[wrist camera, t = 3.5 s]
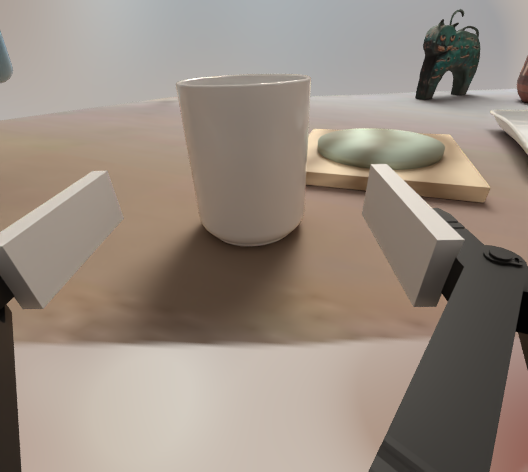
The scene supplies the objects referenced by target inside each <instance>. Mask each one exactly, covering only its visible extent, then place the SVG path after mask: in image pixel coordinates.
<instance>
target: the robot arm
mask: <svg viewBox="0 0 528 472" xmlns="http://www.w3.org/2000/svg"><path fill="white" fill-rule="evenodd" d="M12 71H13V69H12V64H11V61H10V58H9V55H8V52H7V49H6V46H5V43H4V40H3V37H2V34H1V31H0V83H3V82H6V81H7V80H8V79H10V77H11V75H12ZM362 215H363V217H364V219H365V220H366V222H367V224H368V226H369V228H370V229H371V231H372V233H373V235H374V237H375V238H376V240H377V242H378V244H379V246H380V247H381V249H382V251H383V253H384V255H385V256H386V258H387V260H388V262H389V264H390V265H391V267H392V269H393V271H394V273H395V274H396V276H397V278H398V280H399V282H400V283H401V285H402V287H403V289H404V291H405V292H406V294H407V296H408V298H409V300H410V301H411V303H412V305H413V307H436V306H437V304H438V301H439V299H440V297H441V294H443V295H444V297H445V298H446V300H447V301H448V303H447V305H446V307H445V309H444V311H443V314H442V316H441V318H440V320H439V322H438V324H437V326H436V329H435V331H434V333H433V335H432V337H431V339H430V341H429V344H428V346H427V348H426V350H425V352H424V355H423V357H422V359H421V361H420V363H419V365H418V367H417V369H416V372H415V374H414V376H413V378H412V380H411V382H410V385H409V387H408V389H407V391H406V393H405V395H404V397H403V400H402V402H401V404H400V406H399V408H398V410H397V412H396V415H395V417H394V419H393V421H392V423H391V425H390V428H389V430H388V432H387V434H386V436H385V438H384V440H383V442H382V445H381V446H380V448H379V450H378V452H377V455H376V457H375V459H374V461H373V463H372V465H371V467H370V469H369V472H489V471H490V466H491V461H492V455H493V449H494V443H495V439H496V434H497V428H498V423H499V417H500V412H501V407H502V401H503V395H504V390H505V385H506V379H507V374H508V369H509V364H510V358H511V353H512V347H513V342H514V337H515V332H518V334H519V338H520V342H521V346H522V350H523V354H524V358H525V361H526V365H527V369H528V266H527V264H526V262H525V261H524V260H523V259H522V258H521V257H520V256H519V255H517V254H515V253H513V252H512V251H509V250H506V249H504V248H501V247H496V246H490V245H484V244H483V243H481V242H480V241H479V240H478V239H477V238H476V237H475V236H474V235H473V234H472V233H470V232H469V231H468V230H467V229H465V227H464V226H463V225H462V224H461V223H458V221H457V220H456V219H455V218H454V217H453V216H452V215H451V214H449V213H447V212H445V211H443V210H441V209H439V208H431V207H430V206H429V205H428V204H427V203H426V202H425V201H424V200H423V199H422V198H421V197H420V196H419V195H418V194H417V193H416V192H415V191H414V190H413V189H412V188H411V187H410V186H409V185H408V184H407V183H406V182H405V181H404V180H403V179H402V178H401V177H400V176H399V175H398V174H397V173H395V172H394V171H393V170H392V169H391V168H390V167H389V166H388V165H387V164H371V166H370V171H369V177H368V183H367V188H366V194H365V200H364V205H363V211H362ZM123 219H124V217H123V215H122V212H121V209H120V206H119V203H118V200H117V197H116V194H115V191H114V189H113V186H112V183H111V180H110V177H109V174H108V171H92V172H90V173H89V174H87V175H86V176H84V177H83V178H81V179H80V180H78V181H77V182H75V183H74V184H72V185H71V186H69V187H68V188H66V189H65V190H63V191H62V192H60V193H59V194H57V195H56V196H54V197H53V198H51V199H50V200H48V201H47V202H45V203H44V204H42V205H41V206H39V207H38V208H36V209H35V210H33V211H32V212H30V213H28V214H27V215H25V216H24V217H22V218H21V219H19V220H18V221H16V222H15V223H13V224H12V225H10V226H9V227H7V228H6V229H4V230H3V231H1V232H0V472H21V459H20V442H19V425H18V409H17V393H16V376H15V359H14V342H13V326H12V312H11V310H10V309H9V307H8V306H7V305H6V304H7V303H8V302H9V301H10V300H11V299H12V298H13V297H15V299H16V300H17V302H18V303H19V304H20V306H21V307H22V309H43V308H44V307H45V306H46V305H47V304H48V303H49V302H50V301H51V299H52V298H53V297H54V296H55V295H56V294H57V293H58V292H59V290H60V289H61V288H62V287H63V286H64V285H65V284H66V283H67V282H68V280H69V279H70V278H71V277H72V276H73V275H74V274H75V273H76V271H77V270H78V269H79V268H80V267H81V266H82V265H83V264H84V262H85V261H86V260H87V259H88V258H89V257H90V256H91V255H92V254H93V252H94V251H95V250H96V249H97V248H98V247H99V246H100V245H101V243H102V242H103V241H104V240H105V239H106V238H107V237H108V236H109V234H110V233H111V232H112V231H113V230H114V229H115V228H116V227H117V226H118V224H119V223H120V222H121V221H122V220H123Z"/></svg>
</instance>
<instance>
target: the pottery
mask: <svg viewBox="0 0 528 472" xmlns="http://www.w3.org/2000/svg"><path fill="white" fill-rule="evenodd" d="M517 90H518V94H519V96H520V98H521V100H522V101H523V102H526V103H528V56H527V59H526V61H525V63H524V66H523V68H522V70H521V72H520V75H519V78H518V80H517Z"/></svg>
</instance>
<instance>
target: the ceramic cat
mask: <svg viewBox="0 0 528 472" xmlns="http://www.w3.org/2000/svg"><path fill="white" fill-rule="evenodd" d="M457 12H461V14H462V17H463V16H464V11H463V10H461V9H460V10H457V11H455V12H454V13H453V15H452V18H453V16H454V15H455V14H456V13H457ZM452 18H451V21H450V26H449V25H444V19H443V20H442V21H441V22H440V23H439V25H438V26H434V27H432V28H431V29H430V30H429V31H428V32H427V34H426V37H425V40H424V44H423V48H424V51H425V59H424V62H423V65H422V69H421V72H420V79H419V83H418V87H417V91H416V97H415V98H416V99H423V100H427V99H432V97H433V94H434V92H435V89H436V87H437V85H438V83H439V81H440V80H441V78H442V76H443V75H444V74H445V72H446V71H451V72H452V74H453V87H452V91H451V94H453V95H465V94H466V92H467V90H468V88H469V85H470V83H471V81H472V79H473V77H474V75H475V73H476V70H477V66H478V62H479V57H480V42H479V39H478V36H479V32H478V29H477V28H475V27H472V26H467V27H465V28H463V29H461V30H459V31H456V30H455V26H457V25H458V24H459V23H456V24H454V25H451V22H452ZM466 28H472V29H474V30H475V31H476V34H477V36H476V35H475V34H473V33H469V32H467V31H464V30H465V29H466Z"/></svg>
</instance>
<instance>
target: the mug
mask: <svg viewBox="0 0 528 472" xmlns="http://www.w3.org/2000/svg"><path fill="white" fill-rule="evenodd" d="M310 86H311V78H310V77H309V76H306V75H297V74H248V75H228V76H214V77H203V78H195V79H187V80H182V81H179V82H177V83H176V89H177V95H178V100H179V106H180V111H181V117H182V122H183V128H184V133H185V139H186V145H187V150H188V156H189V161H190V167H191V172H192V178H193V183H194V189H195V195H196V200H197V206H198V211H199V217H200V220H201V222H202V224H203V226H204V227H205V228H206V230H207V231H209V232H210V233H211V234H212V235H214V236H216V237H217V238H219V239H220V240H222V241H224V242H226V243H229V244H233V245H238V246H260V245H266V244H270V243H273V242H276V241H278V240H281V239H282V238H284V237H285V236H287V235H288V234H289V233H290V232H292V231H293V230H294V229H295V228H296V227H297V226H298V225H299V224H300V222H301V220H302V218H303V216H304V210H305V190H306V169H307V149H308V129H309V108H310V88H311V87H310Z"/></svg>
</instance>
